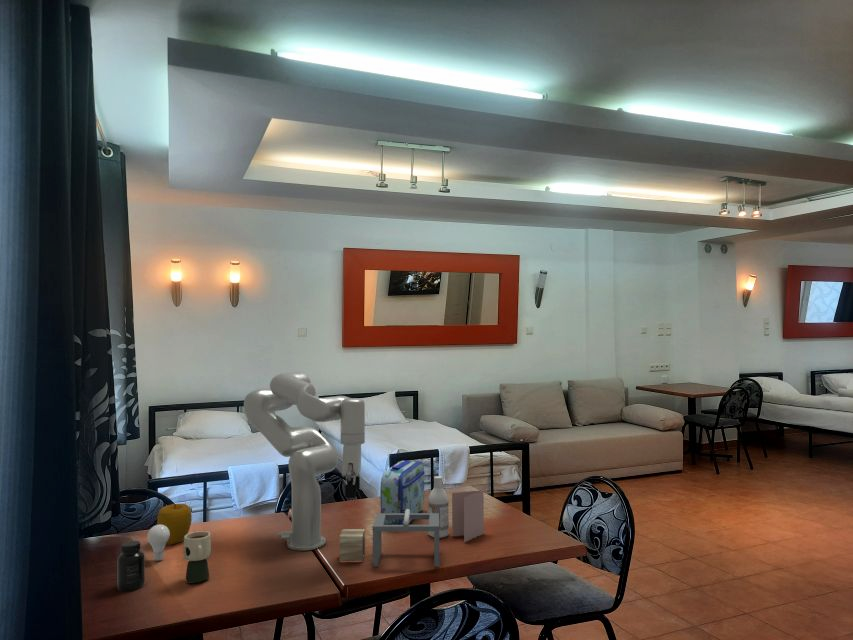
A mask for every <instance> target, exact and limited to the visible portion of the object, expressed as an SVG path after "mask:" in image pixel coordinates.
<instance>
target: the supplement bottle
mask: <svg viewBox="0 0 853 640" xmlns="http://www.w3.org/2000/svg"><path fill="white" fill-rule="evenodd" d="M120 547H121V550H120V552H121V553H120V554H119V555H118V556H117V560H116V562H117V564H116V565H117V567H116V569H117V572H116V573H117V574H116V575H117V577H116V578H117V589H118V590H119V591H120V592H131V591H132V592H133V591H135V590H136V591H137V590H139V589H140V588H142V587H143V586H144V585H145V581H146V580H145V579H146V578H145V577H146V575H145V565H146V564H145V552H143V551H142V550H141V548H142V547H141V541H139V540H130V541H126V542H124V543H121V546H120Z"/></svg>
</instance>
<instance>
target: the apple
mask: <svg viewBox="0 0 853 640" xmlns="http://www.w3.org/2000/svg"><path fill="white" fill-rule="evenodd" d="M156 518H157V521H156V525H160V524H161V525H165V526H166V527H167V528H168V529H169V531H170V536H169V539H168V541H167V542H166V544H165V545H166V546H171V545H175V544H179V543H181V542H184V536H185V535H186V534H188V533H189V531H190V528H191V526H192V525H191V524H192V519H193V518H192V510H191V507H190V506H189V505H188V504H186V503H172V504H168V505H164V506H163V507H161V508H160V509H159V510H158V513H157V517H156Z"/></svg>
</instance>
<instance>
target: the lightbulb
mask: <svg viewBox="0 0 853 640" xmlns="http://www.w3.org/2000/svg"><path fill="white" fill-rule="evenodd" d="M169 536H170V531H169V529H168V528H167V527H166V526H165V525H161V524H160V525H157V524H156V525H153V526H152V527H150V529H149V530H148V532H147V535H146V537H147V541H148V543H149V544H150V546H151V548H152V551H153V560H154V561H157V562H160V561H162V560H163V559H164V550H165V547H166V545H167V544H166V542H167V541H168V539H169Z"/></svg>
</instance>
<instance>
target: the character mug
mask: <svg viewBox="0 0 853 640" xmlns="http://www.w3.org/2000/svg"><path fill="white" fill-rule="evenodd" d="M211 536H212V535H211V532H209V531H206V530H197V531H193V532H188V534H186V535H185V536H184V540H183V559H184V560H186V561H187V565H186V570H185V571H186V574H185V582H186V583H188V584H197V583H198V584H199V583H200V582H203V581H205V580H208V579H209V578H210V572H209V570H210V569H209V562H208V560H207V559H208V558H209V557H211V553H212V552H211V548H212V545H211V542H212V541H211Z"/></svg>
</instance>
